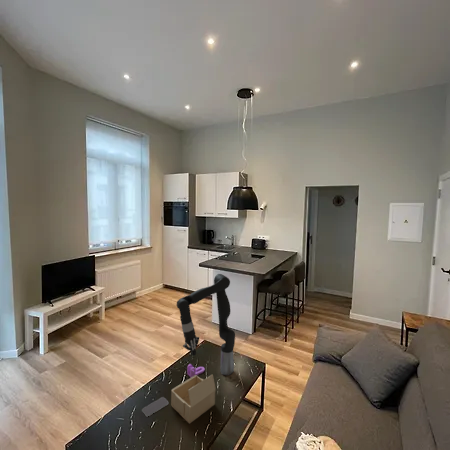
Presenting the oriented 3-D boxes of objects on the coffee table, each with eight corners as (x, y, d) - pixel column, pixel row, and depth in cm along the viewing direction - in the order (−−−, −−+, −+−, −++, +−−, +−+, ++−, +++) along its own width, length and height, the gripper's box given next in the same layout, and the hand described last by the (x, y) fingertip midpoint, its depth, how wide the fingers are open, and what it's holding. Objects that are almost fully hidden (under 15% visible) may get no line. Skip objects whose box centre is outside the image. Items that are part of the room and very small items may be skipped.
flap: (212, 374, 158) (212, 374, 157) (215, 389, 156) (215, 389, 156) (188, 389, 144) (188, 390, 144) (191, 406, 143) (191, 407, 142)
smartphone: (141, 409, 152) (163, 396, 163) (141, 410, 152) (163, 397, 163) (146, 416, 147) (169, 402, 157) (147, 418, 147) (169, 404, 157)
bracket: (191, 378, 181) (191, 369, 181) (187, 374, 186) (187, 365, 185) (205, 371, 189) (206, 362, 189) (201, 367, 194) (202, 358, 193)
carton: (196, 388, 171) (196, 374, 170) (215, 403, 158) (215, 388, 158) (169, 405, 156) (169, 390, 155) (188, 424, 143) (188, 407, 142)
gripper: (184, 334, 159) (190, 361, 158) (199, 325, 169) (205, 350, 168) (177, 333, 164) (183, 359, 163) (192, 324, 174) (198, 349, 173)
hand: (194, 354), depth 166 cm, fingers closed
